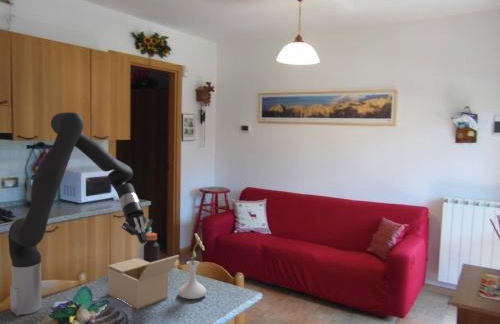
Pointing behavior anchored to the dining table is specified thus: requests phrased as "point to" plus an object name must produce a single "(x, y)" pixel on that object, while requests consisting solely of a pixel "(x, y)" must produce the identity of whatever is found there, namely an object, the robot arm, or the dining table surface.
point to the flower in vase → (193, 279)
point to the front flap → (158, 267)
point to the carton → (137, 287)
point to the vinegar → (151, 248)
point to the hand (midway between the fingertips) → (144, 242)
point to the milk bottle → (142, 246)
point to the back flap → (129, 265)
